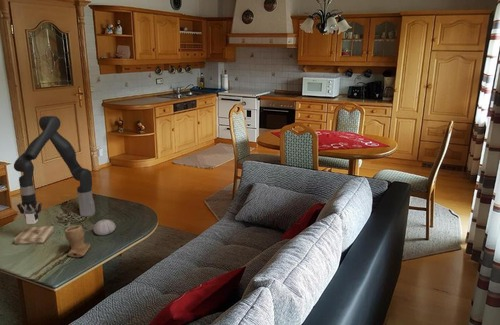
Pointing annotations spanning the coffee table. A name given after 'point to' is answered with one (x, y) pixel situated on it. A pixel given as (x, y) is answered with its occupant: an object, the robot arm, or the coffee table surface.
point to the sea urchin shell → (104, 227)
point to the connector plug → (30, 217)
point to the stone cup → (76, 241)
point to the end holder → (34, 235)
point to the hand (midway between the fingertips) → (31, 219)
